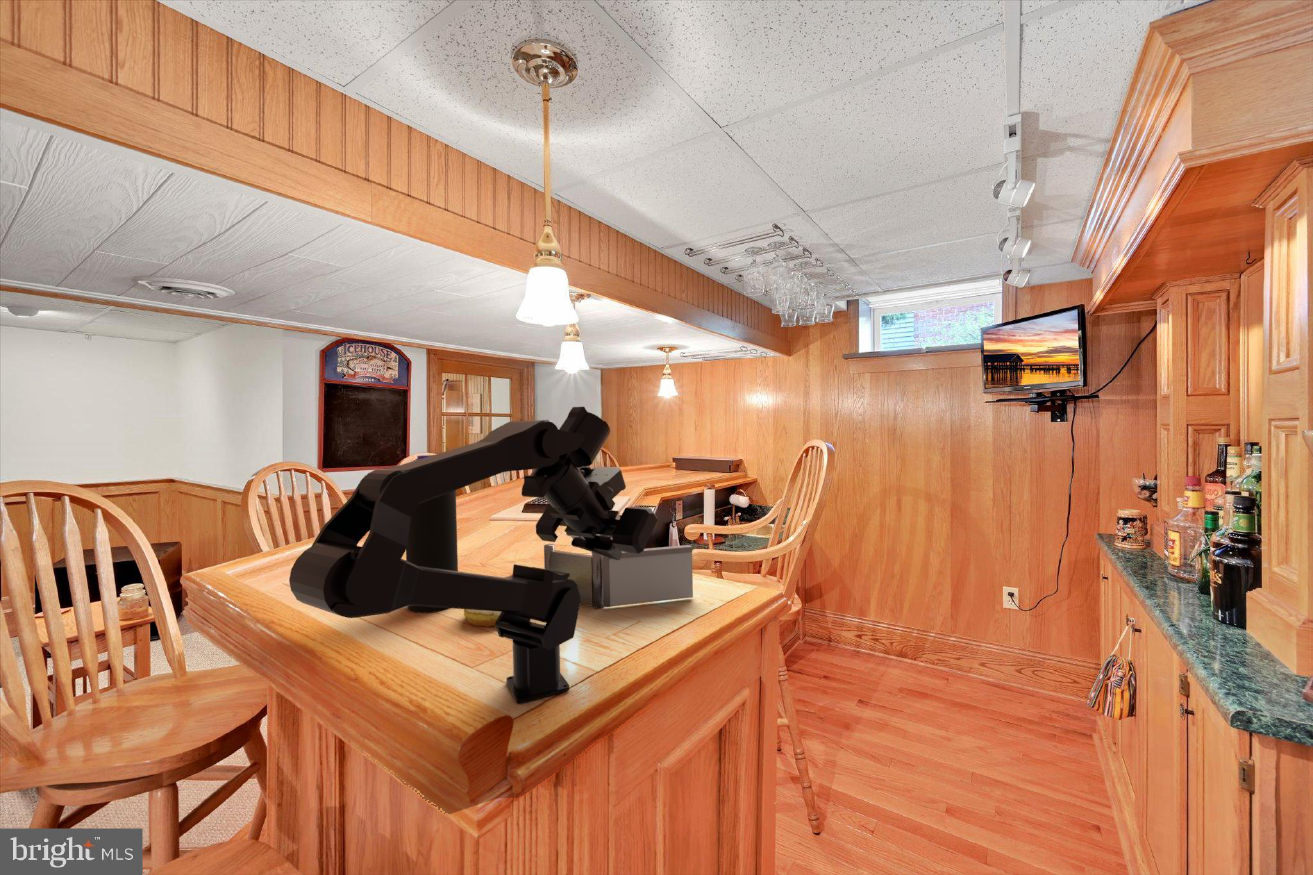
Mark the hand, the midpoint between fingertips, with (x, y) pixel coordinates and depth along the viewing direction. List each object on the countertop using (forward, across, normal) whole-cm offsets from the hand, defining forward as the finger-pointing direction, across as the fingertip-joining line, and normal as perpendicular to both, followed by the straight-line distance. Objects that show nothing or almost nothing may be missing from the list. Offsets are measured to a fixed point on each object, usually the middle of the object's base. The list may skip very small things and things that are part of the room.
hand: (618, 557), depth 80 cm
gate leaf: (+19, +5, -2) cm, 20 cm away
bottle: (+6, +40, +12) cm, 42 cm away
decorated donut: (+7, +24, +12) cm, 28 cm away
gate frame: (+16, +18, +2) cm, 24 cm away
